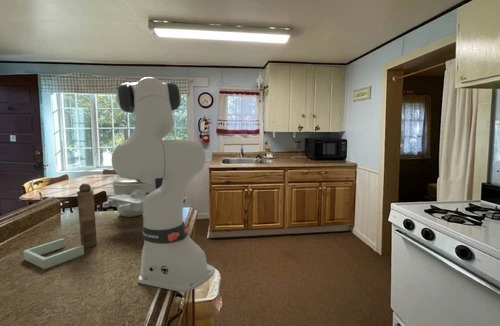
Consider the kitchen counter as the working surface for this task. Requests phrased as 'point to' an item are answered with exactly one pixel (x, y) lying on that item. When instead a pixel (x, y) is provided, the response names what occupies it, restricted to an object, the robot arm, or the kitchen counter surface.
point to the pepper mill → (86, 215)
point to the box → (35, 252)
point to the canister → (127, 192)
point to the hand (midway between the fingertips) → (110, 207)
